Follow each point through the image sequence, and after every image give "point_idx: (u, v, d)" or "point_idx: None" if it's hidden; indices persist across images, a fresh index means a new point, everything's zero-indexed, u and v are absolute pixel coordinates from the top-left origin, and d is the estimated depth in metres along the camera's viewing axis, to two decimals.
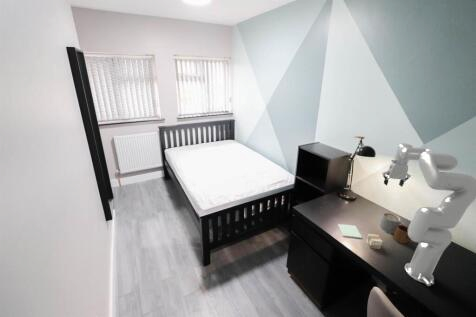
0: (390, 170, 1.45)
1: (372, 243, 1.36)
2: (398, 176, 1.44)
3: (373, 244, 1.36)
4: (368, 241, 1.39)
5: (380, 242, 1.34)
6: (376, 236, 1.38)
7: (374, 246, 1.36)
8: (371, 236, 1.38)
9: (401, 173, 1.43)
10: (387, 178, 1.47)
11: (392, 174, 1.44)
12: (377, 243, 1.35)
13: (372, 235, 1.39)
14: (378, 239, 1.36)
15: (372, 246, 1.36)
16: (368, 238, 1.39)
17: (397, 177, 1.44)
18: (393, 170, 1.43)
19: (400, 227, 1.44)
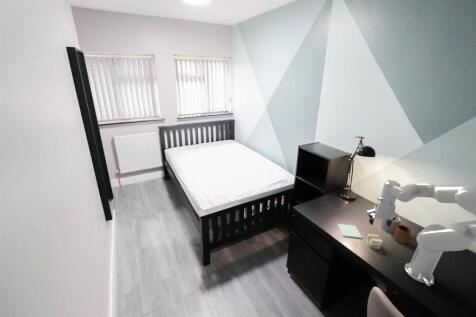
0: (376, 209, 1.29)
1: (372, 243, 1.36)
2: (384, 216, 1.28)
3: (373, 244, 1.36)
4: (368, 241, 1.39)
5: (380, 242, 1.34)
6: (376, 236, 1.38)
7: (374, 246, 1.36)
8: (371, 236, 1.38)
9: (388, 213, 1.27)
10: (372, 217, 1.31)
11: (378, 214, 1.28)
12: (377, 243, 1.35)
13: (372, 235, 1.39)
14: (378, 239, 1.36)
15: (372, 246, 1.36)
16: (368, 238, 1.39)
17: (383, 217, 1.28)
18: (378, 209, 1.27)
19: (400, 227, 1.44)
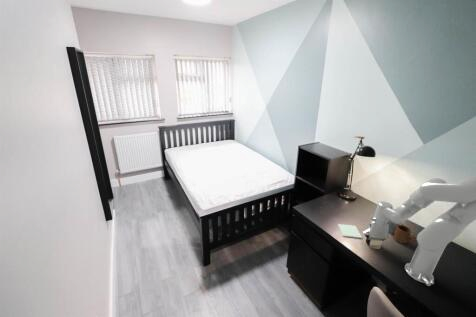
0: (370, 229, 1.34)
1: (372, 243, 1.36)
2: (378, 236, 1.33)
3: (373, 244, 1.36)
4: None
5: (380, 242, 1.34)
6: None
7: (374, 246, 1.36)
8: None
9: (381, 233, 1.32)
10: (369, 238, 1.37)
11: (372, 233, 1.34)
12: (377, 243, 1.35)
13: None
14: (378, 239, 1.36)
15: (372, 246, 1.36)
16: None
17: (377, 237, 1.34)
18: (372, 229, 1.33)
19: (400, 227, 1.44)
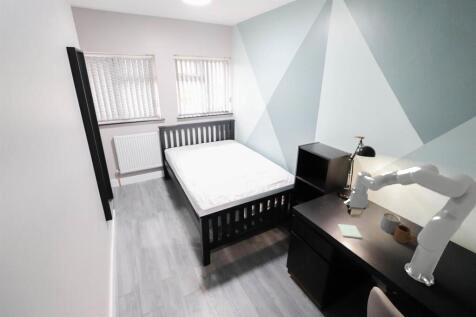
0: (350, 198, 1.41)
1: (352, 212, 1.42)
2: (358, 205, 1.40)
3: (353, 213, 1.42)
4: None
5: (360, 211, 1.41)
6: None
7: (354, 215, 1.42)
8: None
9: (361, 202, 1.39)
10: (349, 207, 1.43)
11: (352, 203, 1.40)
12: (357, 212, 1.41)
13: None
14: (358, 208, 1.42)
15: (353, 215, 1.43)
16: None
17: (357, 206, 1.40)
18: (352, 198, 1.39)
19: (400, 227, 1.44)
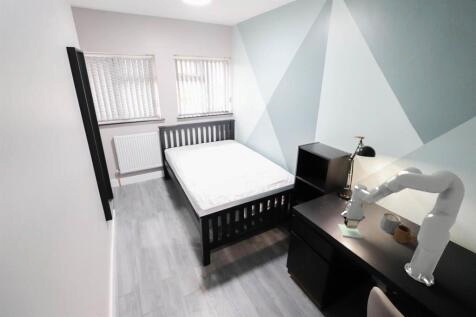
0: (347, 210, 1.44)
1: (349, 223, 1.46)
2: (354, 216, 1.43)
3: (350, 224, 1.46)
4: None
5: (356, 222, 1.44)
6: None
7: (351, 226, 1.46)
8: None
9: (357, 214, 1.42)
10: (346, 219, 1.46)
11: (348, 214, 1.43)
12: (354, 223, 1.45)
13: None
14: (355, 220, 1.46)
15: (349, 226, 1.46)
16: None
17: (353, 217, 1.44)
18: (349, 210, 1.42)
19: (400, 227, 1.44)
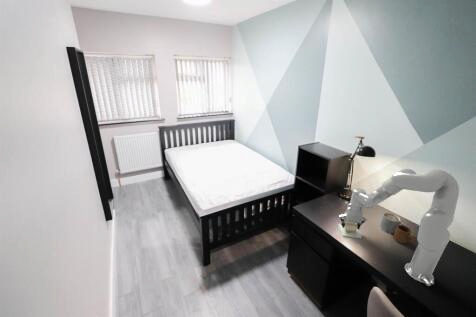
0: (346, 214, 1.45)
1: (348, 228, 1.47)
2: (354, 220, 1.44)
3: (349, 229, 1.47)
4: (345, 227, 1.50)
5: (355, 227, 1.46)
6: None
7: (350, 231, 1.47)
8: (348, 222, 1.49)
9: (356, 217, 1.43)
10: (344, 221, 1.47)
11: (348, 218, 1.44)
12: (353, 228, 1.46)
13: None
14: (354, 224, 1.47)
15: (348, 231, 1.47)
16: (345, 224, 1.51)
17: (353, 221, 1.44)
18: (348, 214, 1.43)
19: (400, 227, 1.44)
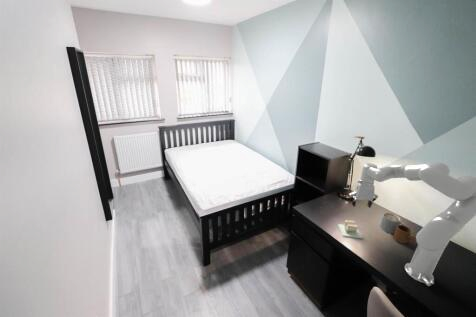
0: (357, 191, 1.39)
1: (348, 228, 1.47)
2: (365, 197, 1.38)
3: (349, 229, 1.47)
4: (345, 227, 1.50)
5: (355, 227, 1.46)
6: (352, 222, 1.49)
7: (350, 231, 1.47)
8: (348, 222, 1.49)
9: (368, 194, 1.37)
10: (354, 199, 1.41)
11: (359, 195, 1.38)
12: (353, 228, 1.46)
13: (349, 221, 1.50)
14: (354, 224, 1.47)
15: (348, 231, 1.47)
16: (345, 224, 1.51)
17: (364, 198, 1.38)
18: (359, 191, 1.37)
19: (400, 227, 1.44)
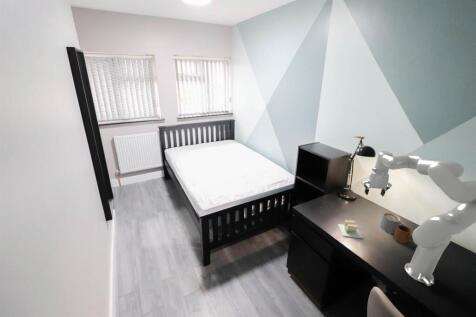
0: (370, 179, 1.38)
1: (348, 228, 1.47)
2: (379, 186, 1.37)
3: (349, 229, 1.47)
4: (345, 227, 1.50)
5: (355, 227, 1.46)
6: (352, 222, 1.49)
7: (350, 231, 1.47)
8: (348, 222, 1.49)
9: (382, 182, 1.36)
10: (367, 187, 1.40)
11: (372, 183, 1.37)
12: (353, 228, 1.46)
13: (349, 221, 1.50)
14: (354, 224, 1.47)
15: (348, 231, 1.47)
16: (345, 224, 1.51)
17: (378, 187, 1.37)
18: (373, 179, 1.36)
19: (400, 227, 1.44)
